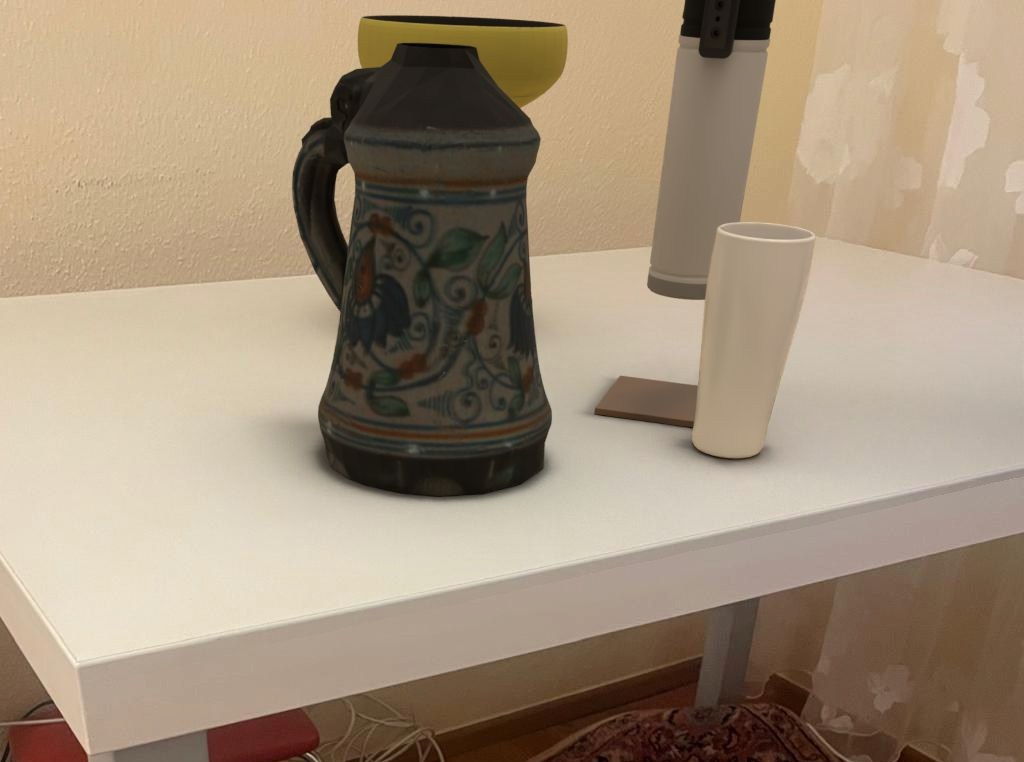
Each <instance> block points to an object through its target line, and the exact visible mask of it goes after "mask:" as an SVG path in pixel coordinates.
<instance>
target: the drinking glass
mask: <svg viewBox="0 0 1024 762" xmlns="http://www.w3.org/2000/svg"><path fill="white" fill-rule="evenodd" d="M816 238H817V236H816V234H815V233H814V232H813V231H811V230H809V229H805V228H802V227H798V226H794V225H787V224H781V223H772V222H759V221H740V222H735V223H727V224H723V225H720V226H719V227H718V228H717V230H716V235H715V240H714V245H713V249H712V254H711V260H710V265H709V271H708V278H707V285H706V293H705V300H704V305H703V317H702V330H701V342H700V354H699V366H698V378H697V385H698V389H697V401H696V411H695V419H694V425H693V427H692V433H691V442H692V444H693V446H694V447H695V448H696V449H697V450H698V451H700V452H702V453H704V454H707V455H711V456H712V457H713V456H714V457H718V458H725V459H746V458H751V457H754V456H756V455H758V454H759V453H760V452H761V451H762V450H763V449H764V447H765V443H766V439H767V432H768V429H769V424H770V419H771V416H772V413H773V410H774V407H775V402H776V398H777V394H778V391H779V389H780V384H781V380H782V378H783V374H784V371H785V367H786V364H787V361H788V356H789V354H790V350H791V347H792V343H793V339H794V336H795V333H796V330H797V326H798V323H799V319H800V316H801V313H802V308H803V305H804V301H805V297H806V293H807V289H808V285H809V279H810V274H811V270H812V263H813V257H814V251H815V244H816Z"/></svg>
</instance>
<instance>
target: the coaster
mask: <svg viewBox="0 0 1024 762" xmlns="http://www.w3.org/2000/svg"><path fill="white" fill-rule="evenodd" d="M697 389H698V384H697V385H696V384H690V383H681V382H673V381H666V380H658V379H650V378H644V377H643V378H642V377H636V376H635V377H634V376H627V375H619V376H618V378H616V380H615V382H614V383H613V384H612V385H611V387H610V388H609V389H608V391H607V392H606V393H605V395H604V396H603V397H602V399H601V400H600V401H599V402H598V403H597V405H596V406H595V407H594V412H593V413H594V414H595V415H599V416H607V417H615V418H621V419H628V420H637V421H643V422H651V423H659V424H665V425H673V426H680V427H687V428H693V425H694V419H695V411H696V401H697Z"/></svg>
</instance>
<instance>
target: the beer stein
mask: <svg viewBox="0 0 1024 762" xmlns="http://www.w3.org/2000/svg"><path fill="white" fill-rule="evenodd" d="M329 109H330V110H329V111H330V117H329V116H328V117H322V118H320V119H319V120H316V121H315V122H314V123H313V124H311V125H310V127H309V130H307V132H306V134H305V135H304V136H303V137H302V138H301V139H300V140H301V147H300V150H299V151H298V153H297V157H296V159H295V162H294V165H293V170H292V177H291V179H292V180H291V197H292V205H293V210H294V215H295V219H296V224H297V229H298V233H299V237H300V240H301V241H302V244H303V246H304V249H305V251H306V254H307V256H308V259H309V261H310V264H311V266H312V268H313V270H314V272H315V274H316V276H317V278H318V279H319V282H320V283H321V284H322V286H323V288H324V290H325V292H326V293H327V295H328V297H329V298H330V300H331V301H332V303H333V304H334V306H335V307H336V309H337V310H338V311H339V320H338V326H337V335H336V340H335V345H334V350H333V356H332V362H331V364H330V370H329V374H328V378H327V381H326V385H325V388H324V390H323V392H322V395H321V397H320V401H319V403H318V411H317V421H318V425H319V429H320V432H321V435H322V439H323V442H324V446H325V448H324V449H325V455H326V457H327V460H328V463H329V467H330V468H331V469H333V470H335V472H337V473H339V474H340V475H342V476H343V477H345V478H346V479H348V480H351V481H354V482H356V483H359V484H362V485H364V486H369V487H373V488H378V489H381V490H386V491H390V492H395V493H400V494H408V495H418V496H419V495H420V496H429V497H430V496H431V497H448V496H466V495H482V494H487V493H492V492H495V491H499V490H503V489H507V488H510V487H514V486H518V485H521V484H523V483H524V482H526V481H527V480H528V479H530V478H531V477H533V476H534V475H535V474H537V473H539V472H540V471H541V470H543V469H544V466H545V465H544V464H545V449H546V447H545V446H546V441H547V438H548V435H549V432H550V429H551V426H552V423H553V411H552V407H551V403H550V401H549V398H548V396H547V393H546V389H545V386H544V382H543V378H542V373H541V368H540V367H541V366H540V362H539V356H538V355H539V354H538V348H537V347H538V346H537V337H536V330H535V329H536V328H535V319H534V307H533V297H532V296H533V295H532V281H531V280H532V279H531V278H532V277H531V263H530V242H529V241H530V240H529V222H528V220H529V219H528V207H527V206H528V204H527V197H528V196H527V190H528V189H527V187H528V180H529V175H530V174H531V172H532V170H533V169H534V166H535V165H536V162H537V157H538V153H539V150H540V146H541V142H542V141H541V140H542V137H541V135H540V133H539V131H538V130H537V129H536V128H535V126H534V125H533V122H532V120H531V117H530V116H528V115H527V113H526V112H525V111H524V110H522V108H519V107H518V106H517V105H516V104H515V103H514V102H513V101H512V100H511V99H510V98H509V97H508V96H507V95H506V94H505V93H504V92H503V91H502V90H501V89H500V88H499V87H498V85H497V84H496V83H495V81H494V80H493V78H492V77H491V76H490V74H489V73H488V71H487V70H486V69H485V67H484V66H483V64H482V63H481V62H480V60H479V56H478V52H477V48H476V47H472V46H464V45H451V44H433V43H399V44H397V46H396V48H395V50H394V53H393V55H392V58H391V60H390V61H388V62H387V63H385V64H384V65H383V66H381V67H374V68H362V67H361V68H355V69H353V70H351V71H349V72H347V73H345V74H343V75H341V77H340V78H339V79H338V82H337V83H336V84H335V86H334V88H333V90H332V93H331V96H330V98H329ZM348 164H349V165H350V168H351V169H352V171H353V173H354V174H353V175H354V199H353V206H352V213H351V220H350V227H349V228H350V229H349V237H348V242H347V239H346V237H345V235H344V234H343V231H342V227H341V224H340V222H339V218H338V212H337V206H336V200H335V196H336V185H337V184H336V183H337V176H338V173H339V170H341V169H342V168H344V167H345V166H347V165H348Z"/></svg>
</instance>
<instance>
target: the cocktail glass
mask: <svg viewBox="0 0 1024 762" xmlns="http://www.w3.org/2000/svg"><path fill="white" fill-rule="evenodd" d="M568 39H569V37H568V28H567V25H566V24H563V23H558V22H548V21H540V20H526V19H514V18H513V19H511V18H497V17H476V16H475V17H474V16H453V15H452V16H449V15H414V14H413V15H411V14H410V15H409V14H408V15H407V14H406V15H405V14H403V15H401V14H391V15H390V14H389V15H388V14H387V15H386V14H384V15H383V14H382V15H365V16H361V17H360V19H359V23H358V30H357V56H358V60H359V65H360V67H361V68H374V67H381V66H383V65H384V64H385V63H387V62H388V61H390V60H391V58H392V55H393V53H394V50H395V48H396V46H397V44H399V43H433V44H451V45H464V46H472V47H476V48H477V52H478V56H479V60H480V62H481V63H482V64H483V66H484V67H485V69H486V70H487V71H488V73H489V74H490V76H491V77H492V78H493V80H494V81H495V83H496V84H497V85H498V87H499V88H500V89H501V90H502V91H503V92H504V93H505V94H506V95H507V96H508V97H509V98H510V99H511V100H512V101H513V102H514V103H515V104H516V105H517V106H518V107H519V108H520V109H522V108H523V107H526V106H527V105H529V104H531V103H532V102H534V101H535V100H537V99H538V98H540V97H541V96H542V95H545V94H546V92H547V91H549V90H550V89H551V88H552V87H553V86H554V85H555V84H556V83H557V82H558V80H559V79H560V78H561V77H562V75H563V73H564V70H565V66H566V62H567V57H568V47H569V46H568V45H569V42H568V41H569V40H568Z"/></svg>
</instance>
